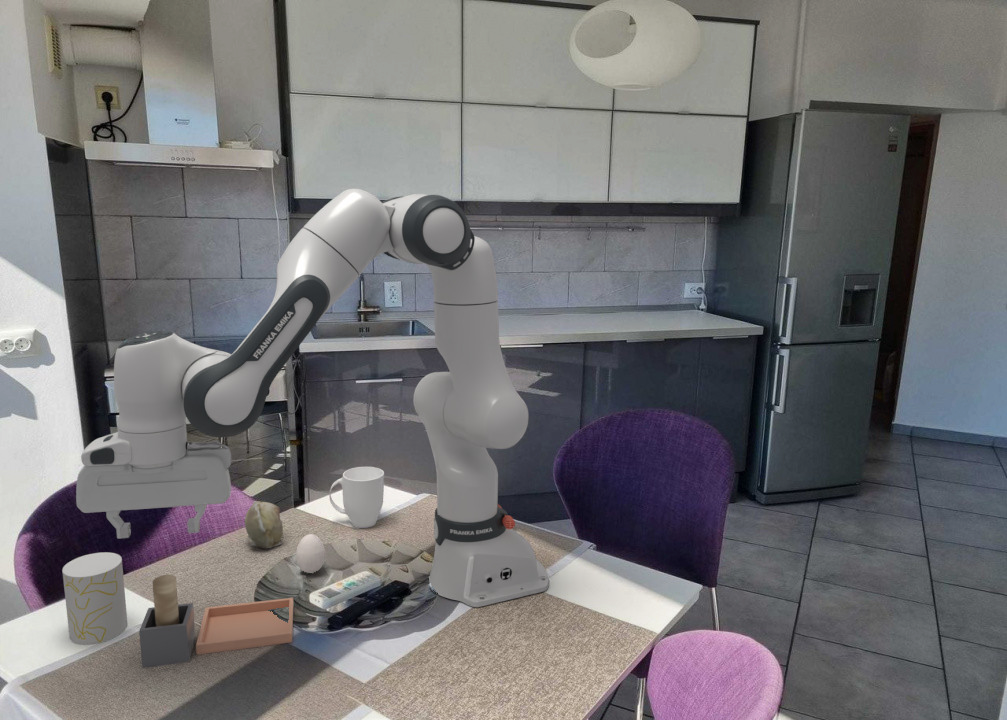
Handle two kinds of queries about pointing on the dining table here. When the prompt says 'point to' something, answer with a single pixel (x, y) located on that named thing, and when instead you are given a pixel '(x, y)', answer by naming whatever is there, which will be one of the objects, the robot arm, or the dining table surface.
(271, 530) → the olive grey rounded lump
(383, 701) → the dining table surface
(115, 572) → the grey patterned cylinder
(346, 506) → the mug
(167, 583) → the dowel
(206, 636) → the tray
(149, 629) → the holder
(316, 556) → the egg
